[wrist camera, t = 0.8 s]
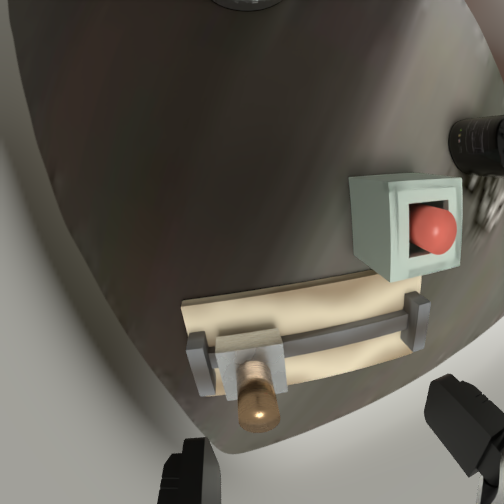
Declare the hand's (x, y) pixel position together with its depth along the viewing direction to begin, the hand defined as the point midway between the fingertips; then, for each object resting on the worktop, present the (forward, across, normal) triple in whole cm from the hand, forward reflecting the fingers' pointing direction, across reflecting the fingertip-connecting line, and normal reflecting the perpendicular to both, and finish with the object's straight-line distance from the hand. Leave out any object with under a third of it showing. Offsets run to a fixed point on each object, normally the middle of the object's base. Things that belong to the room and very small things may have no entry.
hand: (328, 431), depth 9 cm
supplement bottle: (+21, -27, -10) cm, 36 cm away
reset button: (+16, -14, -3) cm, 21 cm away
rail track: (+22, -4, +8) cm, 24 cm away
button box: (+21, -14, -4) cm, 25 cm away
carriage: (+20, +3, +8) cm, 22 cm away
